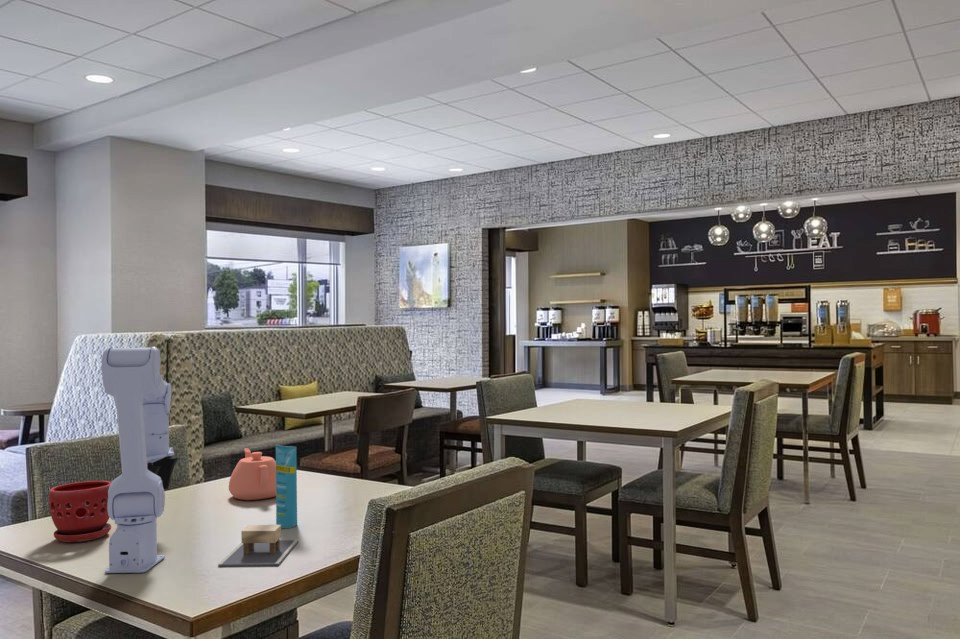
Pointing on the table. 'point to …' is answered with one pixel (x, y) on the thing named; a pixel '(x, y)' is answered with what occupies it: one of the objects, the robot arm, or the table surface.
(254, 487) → the teapot
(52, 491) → the plant pot
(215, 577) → the table surface
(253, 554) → the mat
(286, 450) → the tube
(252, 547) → the stool
